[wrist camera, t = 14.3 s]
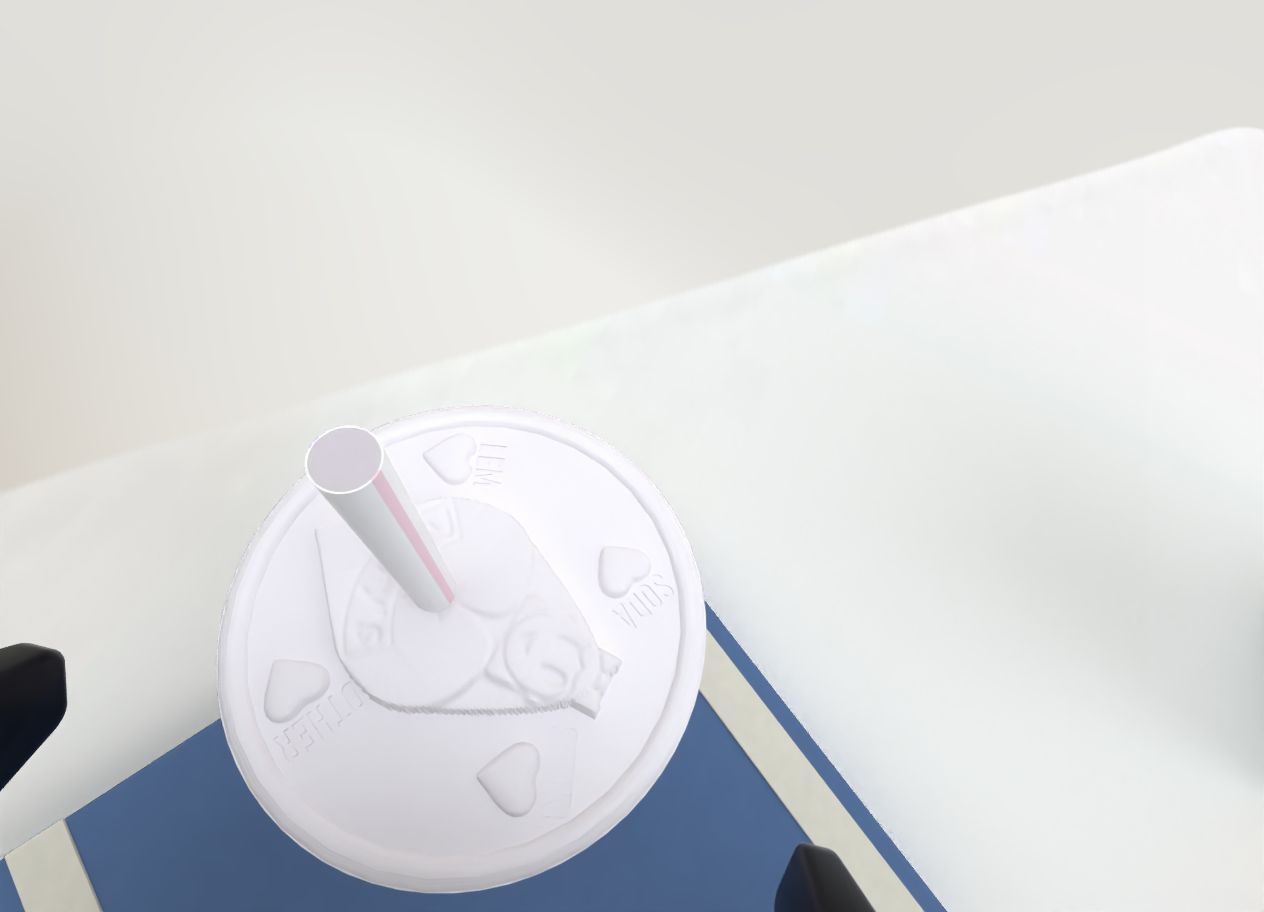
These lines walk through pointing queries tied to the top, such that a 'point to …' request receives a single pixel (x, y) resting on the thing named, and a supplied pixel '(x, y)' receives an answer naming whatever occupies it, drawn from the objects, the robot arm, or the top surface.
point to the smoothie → (460, 648)
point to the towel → (530, 908)
